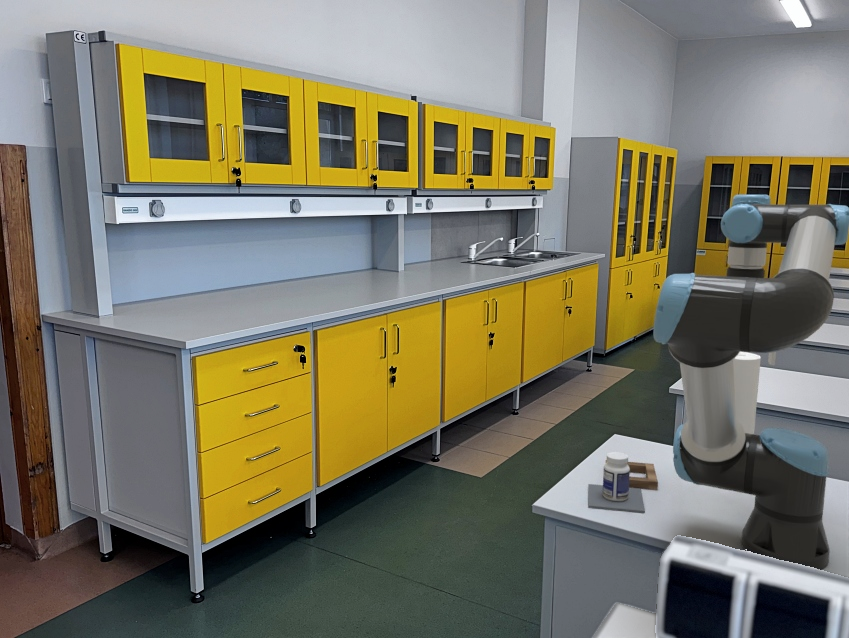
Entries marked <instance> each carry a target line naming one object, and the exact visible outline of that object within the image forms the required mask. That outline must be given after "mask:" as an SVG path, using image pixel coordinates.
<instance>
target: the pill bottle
mask: <svg viewBox="0 0 849 638" xmlns="http://www.w3.org/2000/svg"><path fill="white" fill-rule="evenodd" d="M606 460H607V461H608V462H607V463H606V462H605V463H604V464H603V476H602V478H603V479H602V480H603V481H602V485H603V496H604V497H605V498H606V499H608V500H611V501H624V500H626V499H628V496H629V476H630V473H631V472H630V468H629V466H628V465H627V462H629V455H628V454H626V453H623V452H618V451H611V452H608V453H606ZM630 477H631V476H630Z"/></svg>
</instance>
